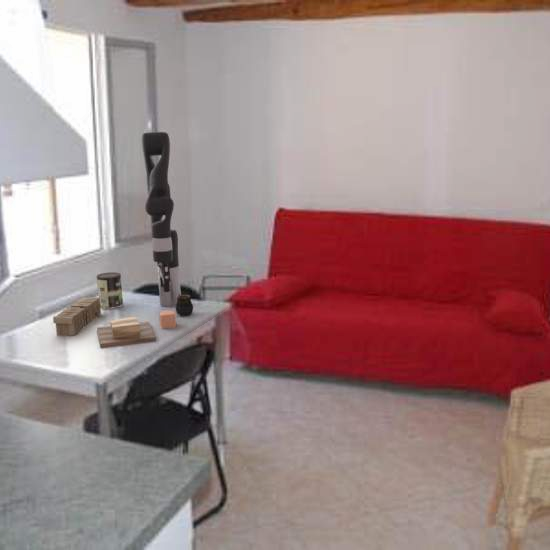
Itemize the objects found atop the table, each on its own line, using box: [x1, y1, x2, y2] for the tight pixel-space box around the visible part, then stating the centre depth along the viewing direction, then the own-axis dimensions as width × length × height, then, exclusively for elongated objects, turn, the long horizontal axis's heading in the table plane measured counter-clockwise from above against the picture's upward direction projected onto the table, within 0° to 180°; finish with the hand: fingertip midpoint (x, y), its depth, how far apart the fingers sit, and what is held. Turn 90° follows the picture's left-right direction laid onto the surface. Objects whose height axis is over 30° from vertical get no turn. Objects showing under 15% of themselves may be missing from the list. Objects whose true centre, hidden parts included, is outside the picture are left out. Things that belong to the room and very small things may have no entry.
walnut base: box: [96, 316, 157, 349], centre depth 250 cm, size 20×20×6 cm
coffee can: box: [96, 271, 124, 310], centre depth 289 cm, size 10×10×14 cm
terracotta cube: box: [158, 309, 177, 330], centre depth 260 cm, size 6×6×6 cm
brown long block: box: [52, 296, 102, 336], centre depth 265 cm, size 8×8×29 cm
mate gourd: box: [175, 294, 194, 317], centre depth 273 cm, size 7×8×10 cm
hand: (165, 289), depth 257 cm, fingers open, 8 cm apart
